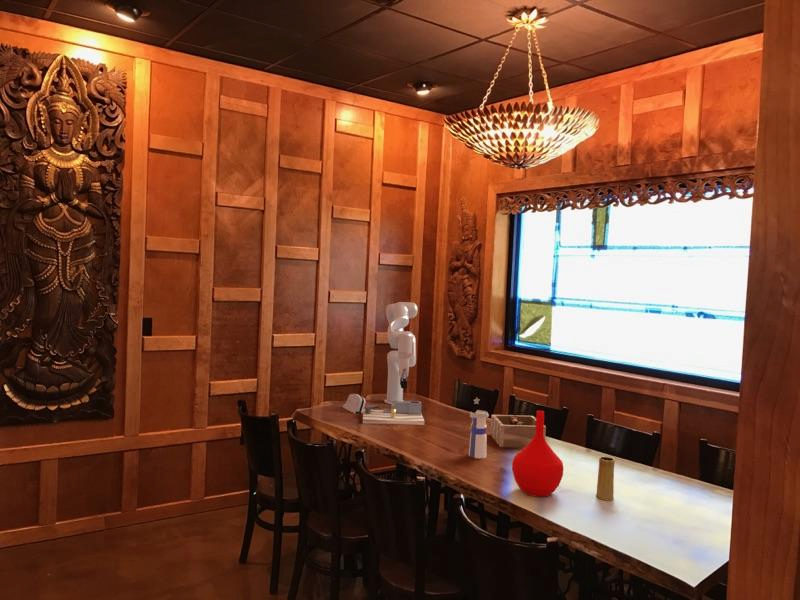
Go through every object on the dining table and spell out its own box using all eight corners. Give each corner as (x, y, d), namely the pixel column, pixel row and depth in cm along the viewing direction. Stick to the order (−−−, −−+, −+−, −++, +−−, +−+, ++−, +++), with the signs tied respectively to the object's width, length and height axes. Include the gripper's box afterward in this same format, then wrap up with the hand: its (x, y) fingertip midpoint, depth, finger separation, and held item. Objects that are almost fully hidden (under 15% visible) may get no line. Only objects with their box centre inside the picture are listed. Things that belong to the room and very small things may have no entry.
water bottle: (463, 455, 269) (465, 398, 268) (476, 452, 274) (479, 396, 273) (477, 459, 262) (479, 401, 262) (490, 456, 268) (493, 399, 267)
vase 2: (616, 500, 220) (618, 461, 219) (600, 500, 219) (602, 461, 219) (609, 494, 226) (611, 456, 225) (593, 494, 225) (595, 455, 225)
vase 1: (538, 505, 212) (543, 419, 211) (500, 488, 227) (504, 408, 226) (572, 495, 223) (577, 414, 222) (534, 480, 238) (538, 404, 237)
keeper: (363, 416, 334) (363, 406, 333) (374, 414, 340) (374, 404, 340) (367, 417, 331) (368, 408, 331) (379, 415, 338) (379, 405, 338)
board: (363, 413, 341) (363, 409, 341) (420, 414, 343) (420, 411, 343) (362, 423, 318) (362, 419, 318) (424, 424, 320) (424, 421, 320)
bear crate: (490, 434, 306) (491, 414, 306) (532, 435, 307) (533, 415, 307) (500, 447, 284) (501, 425, 284) (544, 448, 285) (545, 426, 285)
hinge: (342, 407, 354) (348, 390, 356) (349, 409, 357) (355, 393, 358) (354, 413, 340) (360, 396, 341) (361, 415, 342) (367, 398, 343)
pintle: (390, 420, 327) (391, 408, 327) (395, 420, 328) (395, 408, 327) (390, 421, 325) (391, 409, 325) (395, 421, 325) (395, 409, 325)
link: (383, 413, 333) (383, 402, 333) (383, 410, 340) (383, 400, 340) (421, 414, 335) (421, 403, 334) (419, 411, 342) (420, 401, 341)
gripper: (397, 353, 344) (395, 383, 345) (398, 357, 327) (397, 389, 328) (410, 353, 345) (409, 384, 345) (412, 357, 327) (411, 389, 328)
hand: (403, 386), depth 337 cm, fingers open, 9 cm apart
